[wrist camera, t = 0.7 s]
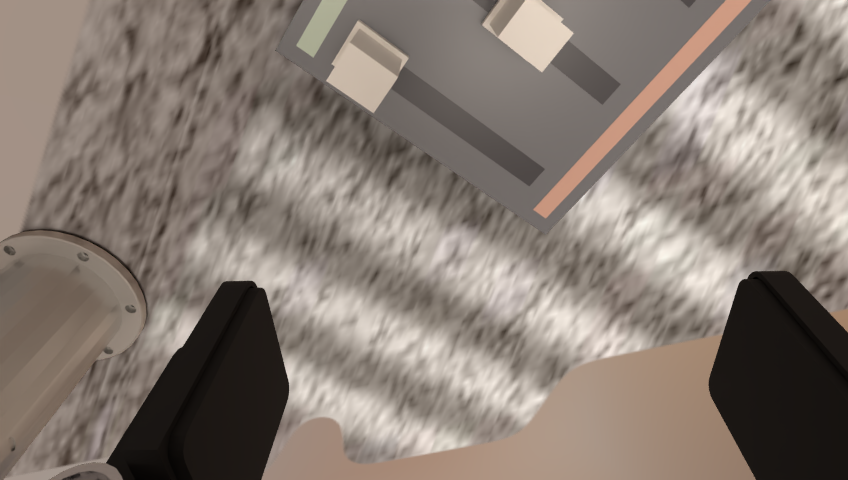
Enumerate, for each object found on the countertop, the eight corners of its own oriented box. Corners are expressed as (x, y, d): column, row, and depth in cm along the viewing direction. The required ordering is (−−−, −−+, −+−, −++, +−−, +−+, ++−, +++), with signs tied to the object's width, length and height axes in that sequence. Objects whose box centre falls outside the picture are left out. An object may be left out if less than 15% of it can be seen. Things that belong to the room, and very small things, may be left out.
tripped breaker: (527, 60, 33) (542, 80, 28) (481, 23, 32) (489, 38, 27) (561, 17, 31) (582, 31, 27) (514, -23, 30) (528, -15, 26)
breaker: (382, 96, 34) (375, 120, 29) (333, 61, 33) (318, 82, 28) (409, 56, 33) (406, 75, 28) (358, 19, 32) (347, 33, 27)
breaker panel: (540, 221, 41) (545, 234, 39) (283, 44, 34) (275, 50, 33) (763, -16, 32) (782, -12, 31) (477, -306, 26) (481, -323, 24)
